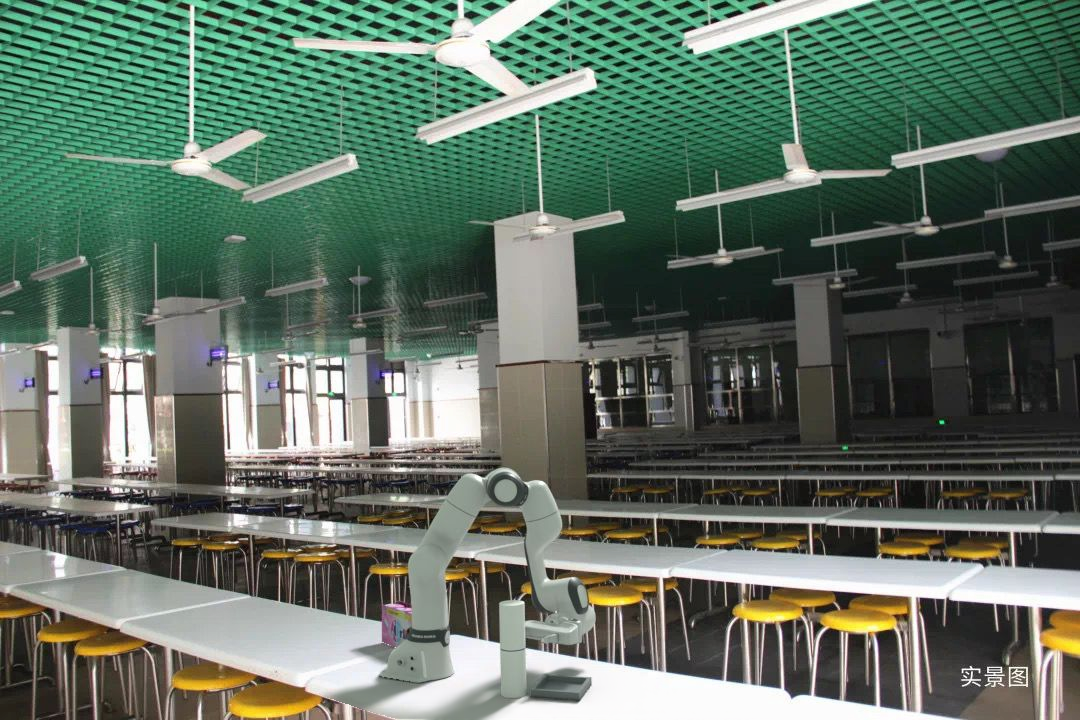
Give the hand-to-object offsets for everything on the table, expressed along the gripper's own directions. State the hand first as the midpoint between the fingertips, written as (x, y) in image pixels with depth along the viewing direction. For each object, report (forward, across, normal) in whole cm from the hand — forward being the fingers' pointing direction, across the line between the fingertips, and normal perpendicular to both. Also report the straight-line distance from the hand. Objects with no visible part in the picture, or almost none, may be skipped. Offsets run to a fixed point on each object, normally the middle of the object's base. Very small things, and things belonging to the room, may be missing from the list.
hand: (530, 638), depth 236 cm
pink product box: (-10, -61, +14) cm, 64 cm away
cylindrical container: (+8, 0, +14) cm, 16 cm away
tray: (-1, +10, +13) cm, 17 cm away
